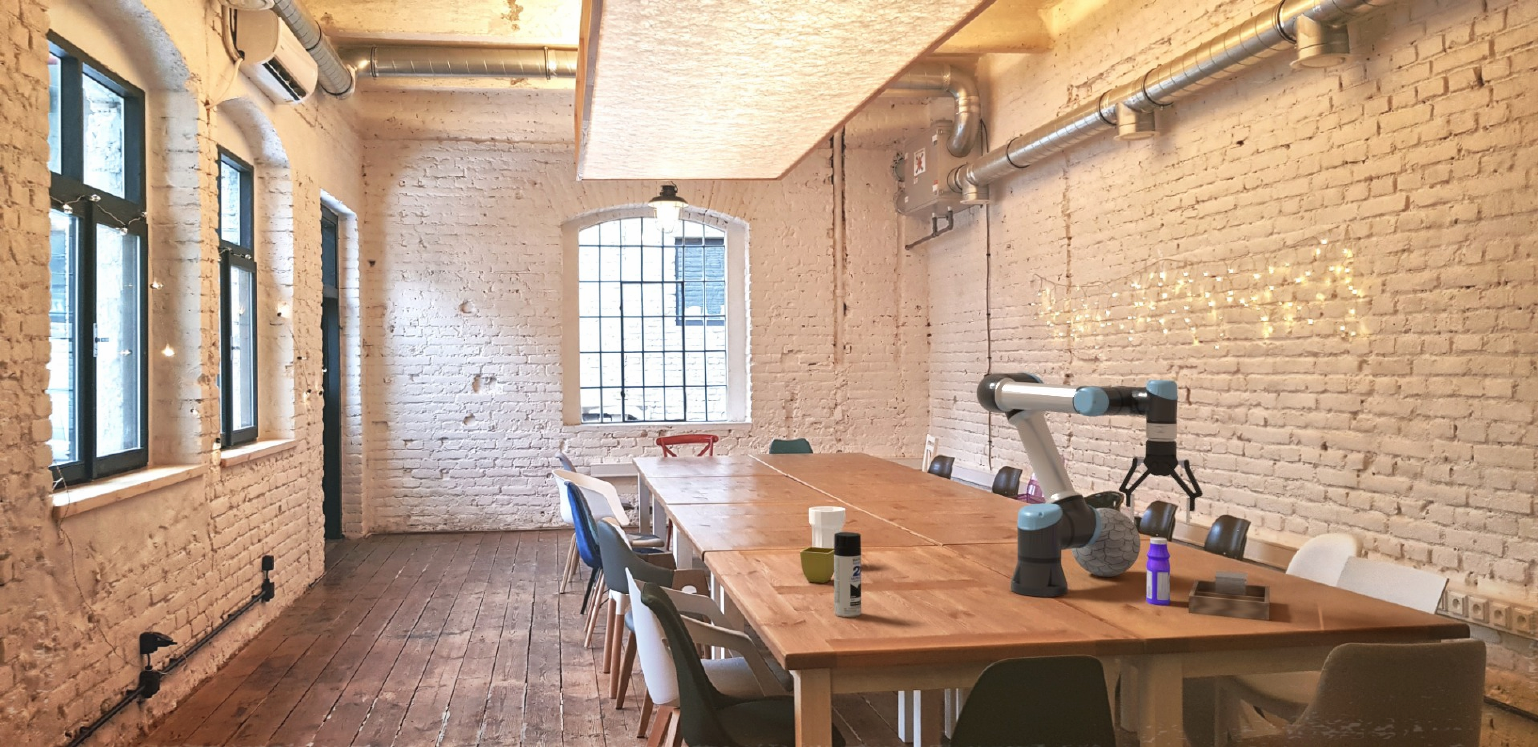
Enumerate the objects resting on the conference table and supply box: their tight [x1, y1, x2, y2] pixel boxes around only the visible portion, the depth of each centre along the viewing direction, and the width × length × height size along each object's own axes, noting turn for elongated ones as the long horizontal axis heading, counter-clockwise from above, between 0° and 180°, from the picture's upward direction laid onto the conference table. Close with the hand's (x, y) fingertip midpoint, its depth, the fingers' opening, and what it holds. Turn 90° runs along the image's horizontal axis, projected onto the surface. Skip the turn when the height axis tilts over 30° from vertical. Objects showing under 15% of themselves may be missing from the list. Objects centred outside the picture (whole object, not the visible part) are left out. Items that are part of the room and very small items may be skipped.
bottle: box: [1145, 536, 1171, 606], centre depth 275 cm, size 7×6×17 cm
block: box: [1214, 570, 1248, 596], centre depth 275 cm, size 7×8×7 cm
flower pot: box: [799, 546, 834, 584], centre depth 303 cm, size 9×9×9 cm
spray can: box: [833, 531, 862, 618], centre depth 263 cm, size 7×7×20 cm
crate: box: [1188, 579, 1271, 622], centre depth 270 cm, size 18×22×5 cm
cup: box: [808, 505, 847, 548], centre depth 327 cm, size 11×11×17 cm
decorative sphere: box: [1070, 507, 1141, 578], centre depth 313 cm, size 20×20×20 cm
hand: (1159, 521), depth 276 cm, fingers open, 13 cm apart
